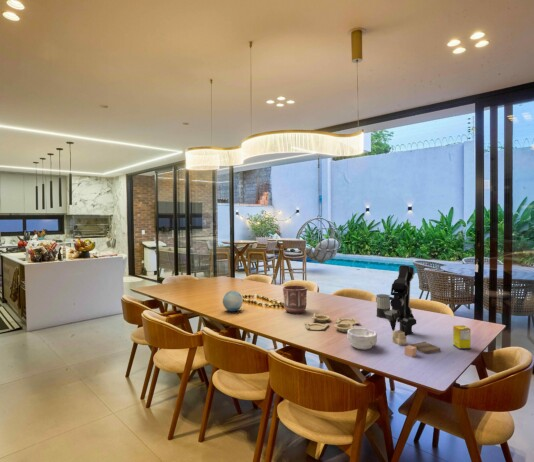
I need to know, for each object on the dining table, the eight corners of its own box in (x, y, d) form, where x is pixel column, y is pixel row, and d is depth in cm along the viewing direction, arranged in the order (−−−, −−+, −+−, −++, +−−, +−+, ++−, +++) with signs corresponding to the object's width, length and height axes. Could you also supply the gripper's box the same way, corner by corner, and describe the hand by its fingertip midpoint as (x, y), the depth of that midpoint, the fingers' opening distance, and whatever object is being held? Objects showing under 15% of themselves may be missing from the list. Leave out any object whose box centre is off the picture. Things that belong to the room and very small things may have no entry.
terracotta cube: (404, 354, 170) (404, 346, 170) (409, 352, 173) (409, 345, 173) (412, 357, 167) (412, 349, 167) (416, 355, 169) (416, 347, 169)
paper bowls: (381, 345, 182) (381, 331, 182) (368, 354, 171) (368, 338, 171) (355, 339, 193) (355, 325, 192) (341, 347, 181) (341, 332, 181)
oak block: (392, 342, 188) (392, 331, 188) (399, 341, 190) (399, 330, 189) (399, 345, 183) (399, 334, 183) (406, 343, 185) (406, 333, 185)
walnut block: (410, 348, 180) (410, 344, 180) (424, 345, 184) (424, 341, 184) (425, 354, 171) (425, 350, 171) (440, 351, 175) (440, 348, 175)
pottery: (301, 307, 264) (300, 284, 263) (311, 313, 247) (310, 288, 247) (279, 309, 258) (279, 286, 258) (288, 315, 242) (288, 290, 241)
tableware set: (360, 321, 229) (360, 315, 229) (360, 335, 200) (360, 328, 200) (308, 317, 238) (308, 311, 238) (301, 330, 210) (301, 324, 210)
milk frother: (382, 318, 232) (382, 297, 232) (367, 313, 247) (367, 292, 246) (398, 316, 238) (398, 295, 238) (382, 311, 252) (382, 291, 252)
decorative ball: (245, 308, 262) (244, 289, 261) (240, 314, 247) (239, 293, 246) (226, 308, 264) (226, 288, 264) (220, 313, 249) (220, 292, 249)
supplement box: (463, 345, 182) (463, 325, 182) (470, 349, 176) (470, 328, 176) (452, 345, 182) (452, 325, 182) (459, 349, 176) (459, 328, 176)
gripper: (376, 302, 191) (376, 330, 192) (400, 310, 174) (400, 340, 175) (391, 300, 196) (391, 327, 196) (417, 308, 178) (417, 337, 179)
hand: (399, 333), depth 186 cm, fingers open, 9 cm apart
